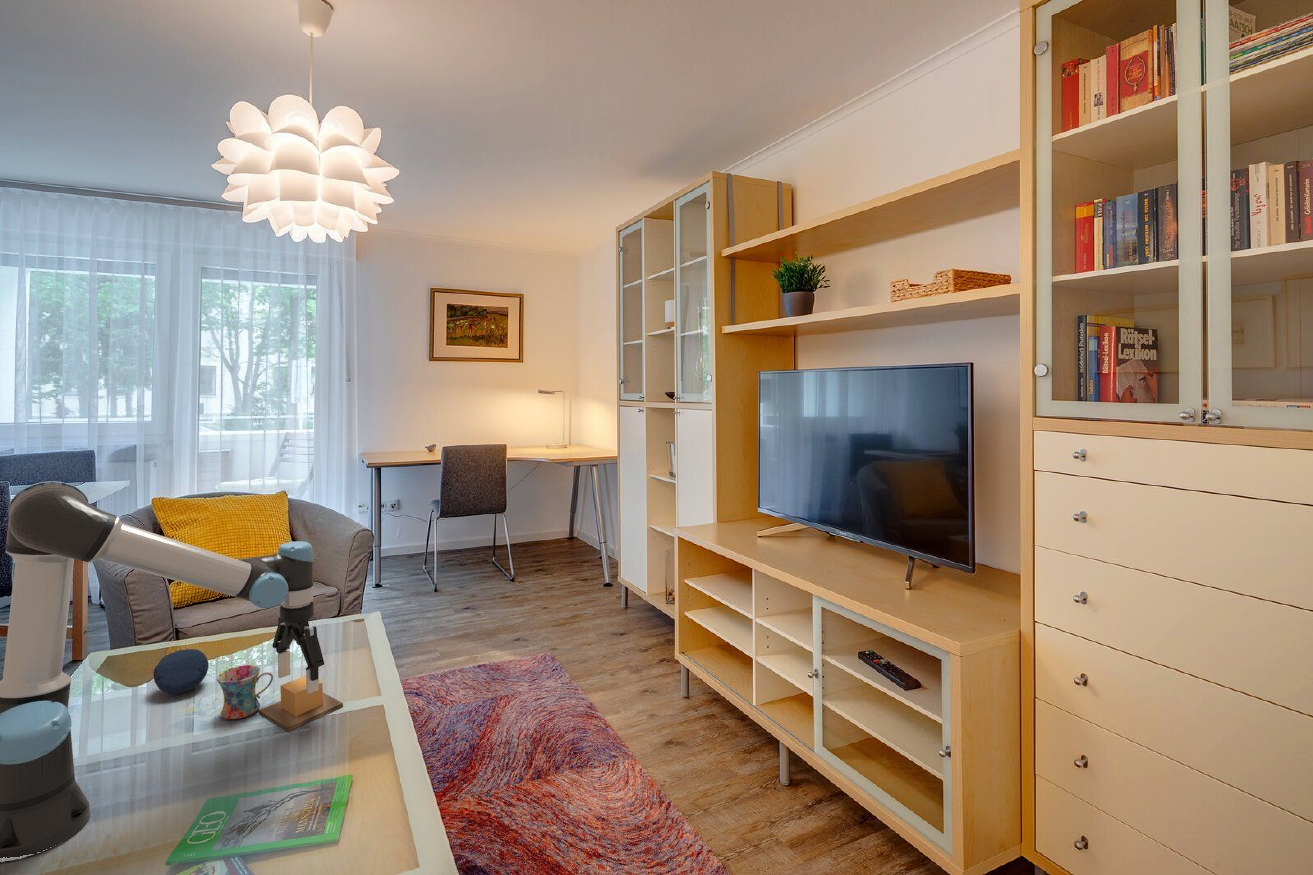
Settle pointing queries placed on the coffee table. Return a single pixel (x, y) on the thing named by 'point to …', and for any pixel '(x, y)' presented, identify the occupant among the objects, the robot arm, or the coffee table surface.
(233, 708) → the mug
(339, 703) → the post board
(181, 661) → the decorative stone
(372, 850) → the coffee table surface
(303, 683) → the tan cardboard box
